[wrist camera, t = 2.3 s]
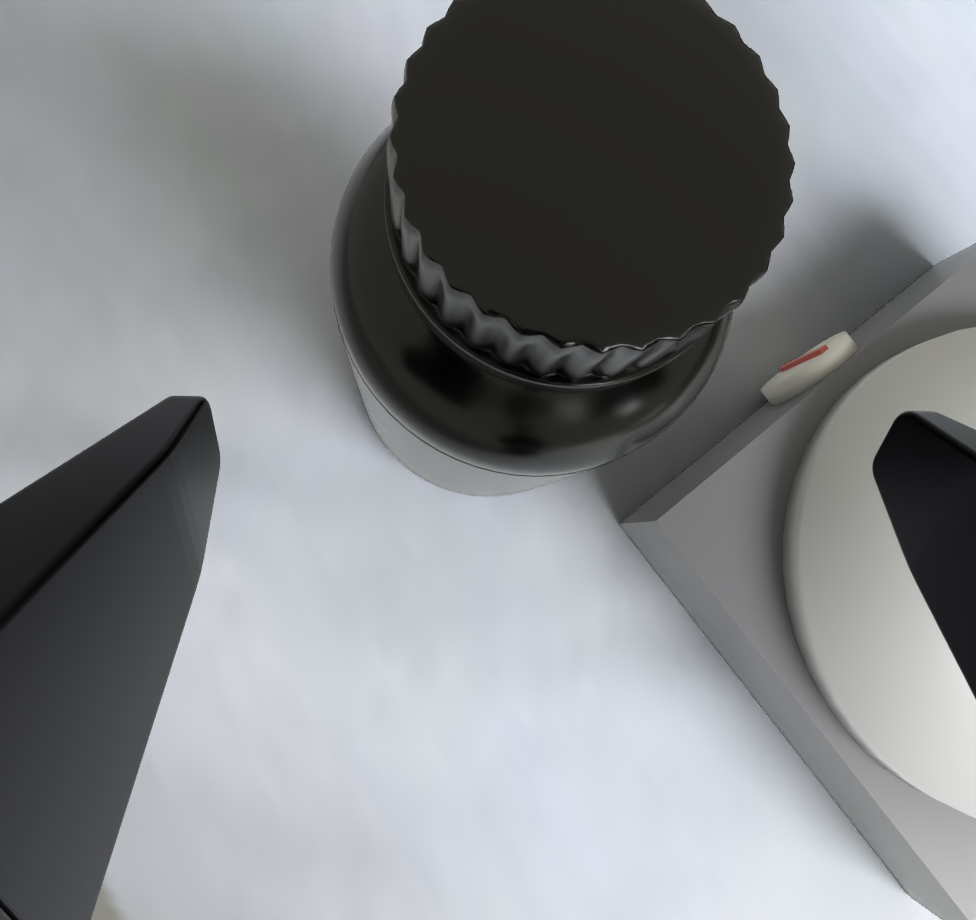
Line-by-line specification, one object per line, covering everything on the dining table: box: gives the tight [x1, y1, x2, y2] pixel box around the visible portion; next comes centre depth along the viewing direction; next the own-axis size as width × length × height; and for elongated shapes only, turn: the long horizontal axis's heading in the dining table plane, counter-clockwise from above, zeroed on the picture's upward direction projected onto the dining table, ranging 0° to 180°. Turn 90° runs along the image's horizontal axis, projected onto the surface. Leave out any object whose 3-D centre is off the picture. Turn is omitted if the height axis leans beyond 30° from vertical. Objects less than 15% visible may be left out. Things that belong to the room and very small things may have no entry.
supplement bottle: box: [330, 0, 795, 496], centre depth 14 cm, size 7×7×12 cm
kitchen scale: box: [619, 243, 976, 920], centre depth 19 cm, size 13×14×4 cm
